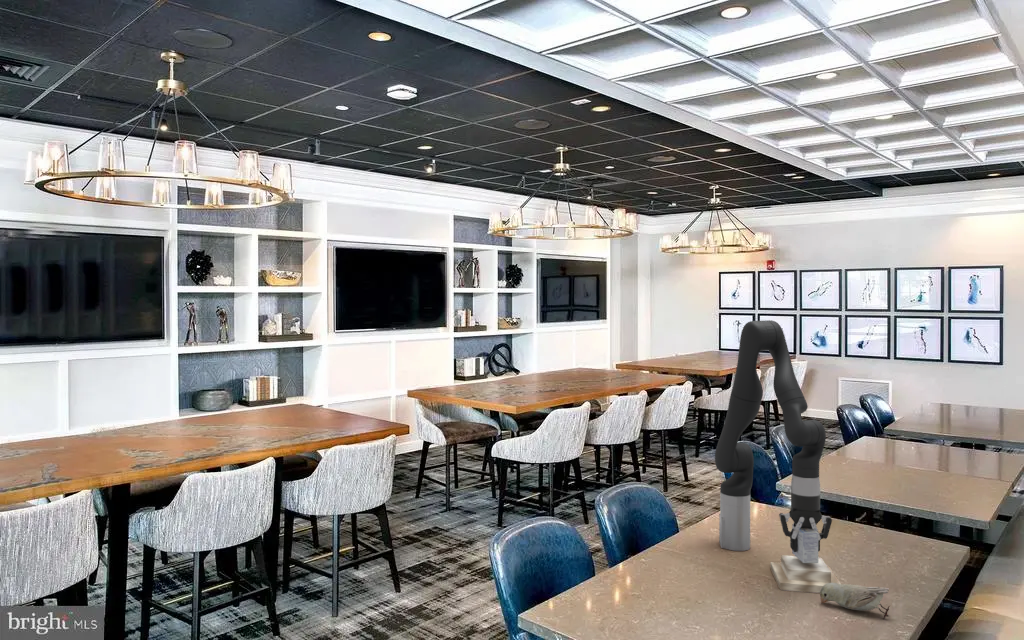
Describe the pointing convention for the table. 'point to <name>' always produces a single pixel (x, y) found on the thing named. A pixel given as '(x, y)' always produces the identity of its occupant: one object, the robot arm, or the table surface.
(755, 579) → the table surface
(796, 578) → the pedestal
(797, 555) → the medicine box
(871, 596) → the decorative bird
